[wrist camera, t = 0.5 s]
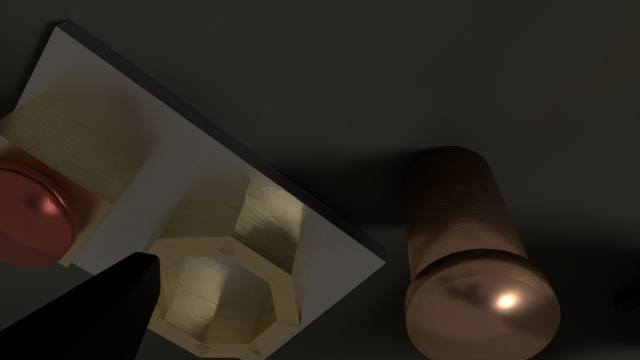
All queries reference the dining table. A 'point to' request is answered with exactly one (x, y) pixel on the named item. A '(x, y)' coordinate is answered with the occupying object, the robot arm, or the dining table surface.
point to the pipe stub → (470, 265)
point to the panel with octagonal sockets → (167, 205)
